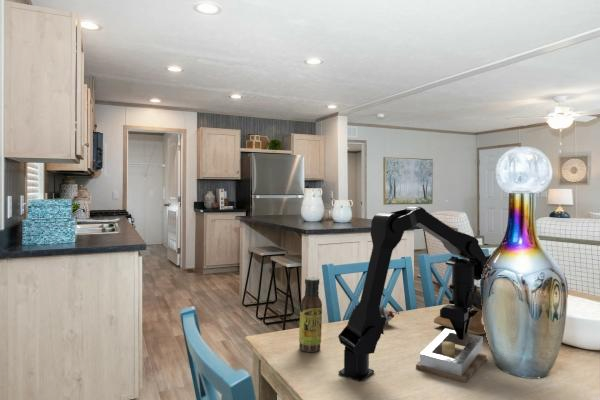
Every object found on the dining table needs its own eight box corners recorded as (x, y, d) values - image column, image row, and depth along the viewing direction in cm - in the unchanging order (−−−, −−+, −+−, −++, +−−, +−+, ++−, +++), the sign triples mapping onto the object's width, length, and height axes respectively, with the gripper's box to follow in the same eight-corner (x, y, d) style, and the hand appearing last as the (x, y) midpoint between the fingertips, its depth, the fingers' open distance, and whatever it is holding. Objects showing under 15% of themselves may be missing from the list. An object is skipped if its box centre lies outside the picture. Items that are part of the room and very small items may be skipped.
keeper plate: (465, 382, 93) (465, 357, 93) (415, 368, 101) (416, 344, 101) (486, 358, 107) (486, 336, 107) (441, 347, 115) (441, 326, 115)
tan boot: (495, 332, 128) (496, 285, 128) (477, 340, 121) (478, 290, 120) (451, 320, 140) (452, 277, 140) (432, 327, 132) (433, 281, 132)
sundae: (353, 309, 133) (399, 308, 131) (352, 303, 139) (396, 302, 138) (354, 328, 133) (400, 328, 131) (353, 322, 139) (397, 321, 138)
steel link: (461, 376, 94) (461, 364, 94) (420, 365, 100) (420, 353, 100) (483, 347, 108) (482, 336, 108) (445, 338, 114) (445, 328, 114)
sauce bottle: (303, 354, 109) (303, 281, 109) (296, 346, 115) (296, 276, 115) (325, 351, 111) (325, 280, 111) (316, 343, 117) (317, 275, 117)
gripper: (485, 292, 98) (484, 356, 98) (503, 279, 112) (502, 335, 112) (439, 285, 105) (438, 345, 105) (462, 274, 119) (461, 327, 119)
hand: (462, 338), depth 110 cm, fingers closed on steel link, 2 cm apart
